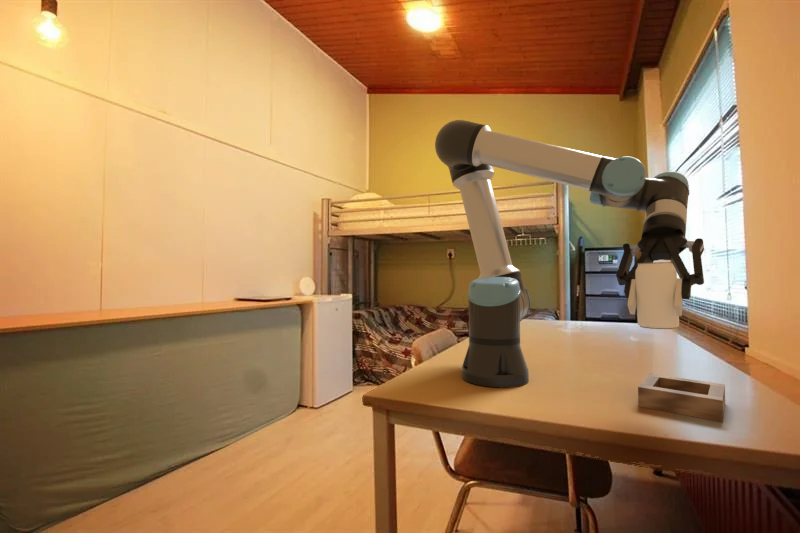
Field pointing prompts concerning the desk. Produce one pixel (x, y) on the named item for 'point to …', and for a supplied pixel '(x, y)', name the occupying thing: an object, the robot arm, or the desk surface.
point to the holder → (683, 396)
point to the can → (656, 295)
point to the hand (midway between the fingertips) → (653, 310)
